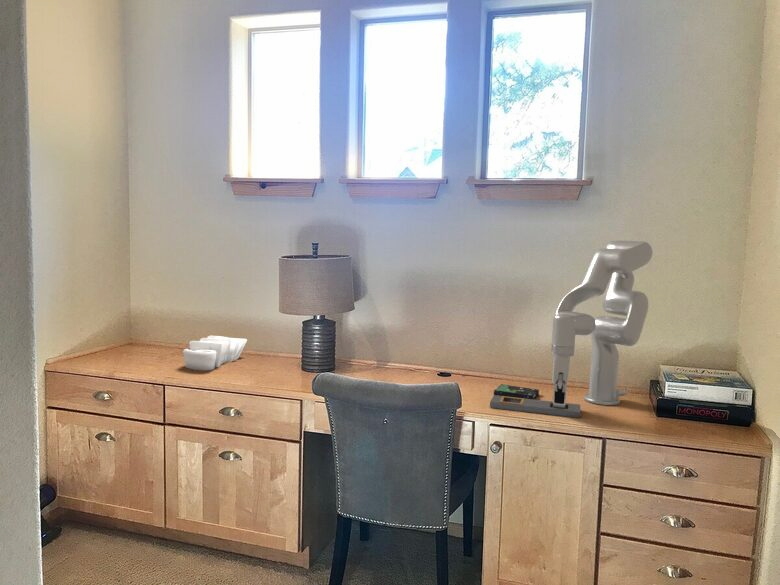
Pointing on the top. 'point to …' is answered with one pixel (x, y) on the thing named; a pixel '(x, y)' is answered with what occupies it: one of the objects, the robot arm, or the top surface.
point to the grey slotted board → (534, 406)
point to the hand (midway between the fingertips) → (559, 399)
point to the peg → (562, 406)
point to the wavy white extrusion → (212, 352)
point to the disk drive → (516, 392)
